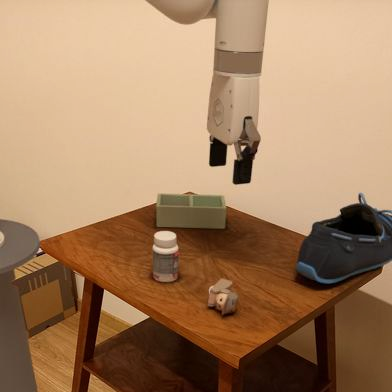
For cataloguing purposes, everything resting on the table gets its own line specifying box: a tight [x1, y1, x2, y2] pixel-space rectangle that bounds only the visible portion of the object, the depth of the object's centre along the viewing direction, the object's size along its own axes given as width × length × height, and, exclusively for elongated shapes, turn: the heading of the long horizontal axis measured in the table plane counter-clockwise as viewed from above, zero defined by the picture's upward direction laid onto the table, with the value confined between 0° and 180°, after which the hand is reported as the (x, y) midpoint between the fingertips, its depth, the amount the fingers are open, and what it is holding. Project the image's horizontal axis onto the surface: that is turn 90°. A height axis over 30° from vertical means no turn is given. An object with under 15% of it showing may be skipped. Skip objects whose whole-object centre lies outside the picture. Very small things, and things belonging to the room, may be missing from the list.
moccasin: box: [294, 192, 392, 285], centre depth 101 cm, size 14×34×12 cm, turn 142°
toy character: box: [207, 278, 240, 316], centre depth 87 cm, size 4×8×6 cm
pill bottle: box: [152, 230, 180, 283], centre depth 94 cm, size 5×5×8 cm
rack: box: [155, 192, 227, 230], centre depth 117 cm, size 15×8×5 cm, turn 91°
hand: (228, 174), depth 89 cm, fingers open, 9 cm apart
